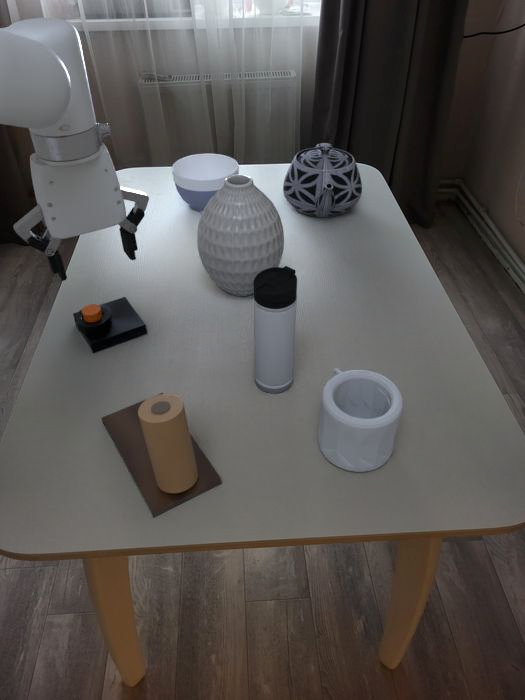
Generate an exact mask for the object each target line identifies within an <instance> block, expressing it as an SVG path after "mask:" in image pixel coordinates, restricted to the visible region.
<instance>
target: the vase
mask: <svg viewBox="0 0 525 700" xmlns="http://www.w3.org/2000/svg"><path fill="white" fill-rule="evenodd" d="M284 233H285V232H284V227H283V223H282V218H281V215H280V214H279V212H278V209H277V207H276V206H275V204H274V203H273V201H272V200H271V199H270V198H269V197H268V196H267V195H266V194H265V193H264V192H263V191H262V190H261V189H260V188H258V187H257V186H256V185H255V183H254V179H253V178H252V177H250V176H249V175H246V174H239V175H233V176H229V177H228V178H226V179H225V181H224V186H223V187H222V188H221V189H220V190H219V191H218V192H217V193H216V194H215V195H214V196H213V197H212V198H211V199H210V200H209V202H208V203H207V204H206V206H205V208H204V210H203V212H201V215H200V218H199V221H198V225H197V233H196V234H197V235H196V243H197V251H198V254H199V259H200V262H201V265H202V266H203V268H204V270H205V272H206V273H207V275H208V276H209V277H210V278H211V280H212V281H213V282H214V283H215V284H216V285H217V286H218V287H219V288H221V289H222V290H223V291H225V292H226V293H228V294H230V295H233V296H235V297H247V296H252V295H254V285H253V283H254V279H255V277H256V275H257V274H259V273H260V272H261V271H263V270H265V269H268V268H273V267H280V264H281V262H282V258H283V254H284V249H285V248H284V247H285V234H284Z"/></svg>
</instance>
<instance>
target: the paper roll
mask: <svg viewBox="0 0 525 700" xmlns="http://www.w3.org/2000/svg"><path fill="white" fill-rule="evenodd" d="M159 394H160V395H158V394H156V395H154V396H151V397H148V398H149V399H148V398H146V399H147V400H146V399H145V400H146V401H144V400H143V401H144V402H143V403H142V404H141V405H140V407H139V409H138V416H139V419H140V423H141V427H142V430H143V434H144V438H145V442H146V445H147V449H148V453H149V456H150V460H151V464H152V467H153V471H154V475H155V478H156V482H157V485H158V487H159V488H160V489H161V490H162V491H164V492H167V493H180V492H183V491H186V490H188V489H189V488H191V487H192V486H193V485H194V484H195V483H196V481H197V479H198V470H197V465H196V460H195V456H194V451H193V446H192V441H191V437H190V434H191V432H190V428H189V423H188V418H187V413H186V409H185V404H184V401H183V399H182V398H181V397H179V396H178V395H176V394H172V393H163V394H161V393H159Z"/></svg>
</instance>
